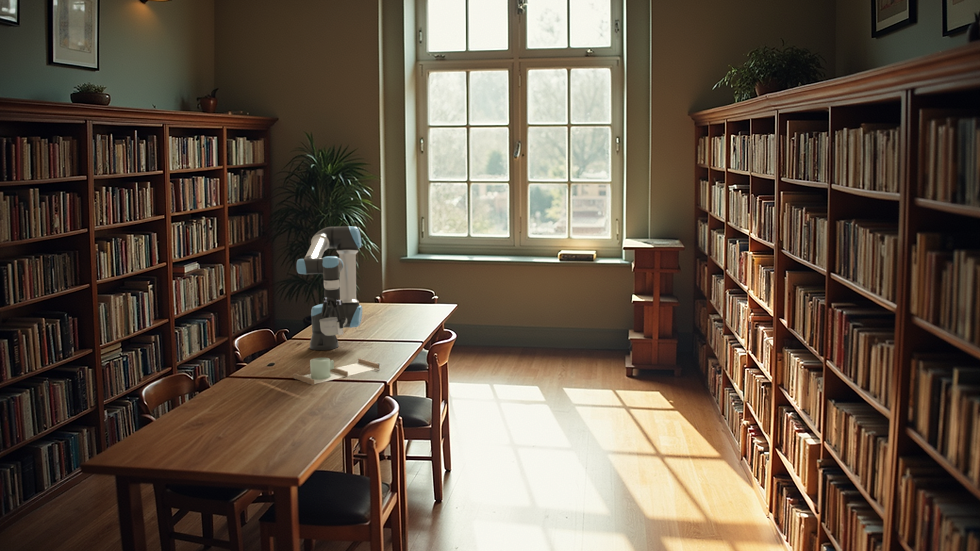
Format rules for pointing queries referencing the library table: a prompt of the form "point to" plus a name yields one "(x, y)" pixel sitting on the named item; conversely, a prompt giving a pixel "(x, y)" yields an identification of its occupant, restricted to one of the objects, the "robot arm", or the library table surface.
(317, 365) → the pale green cup
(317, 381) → the beige tray
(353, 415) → the library table surface
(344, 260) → the robot arm
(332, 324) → the teacup
